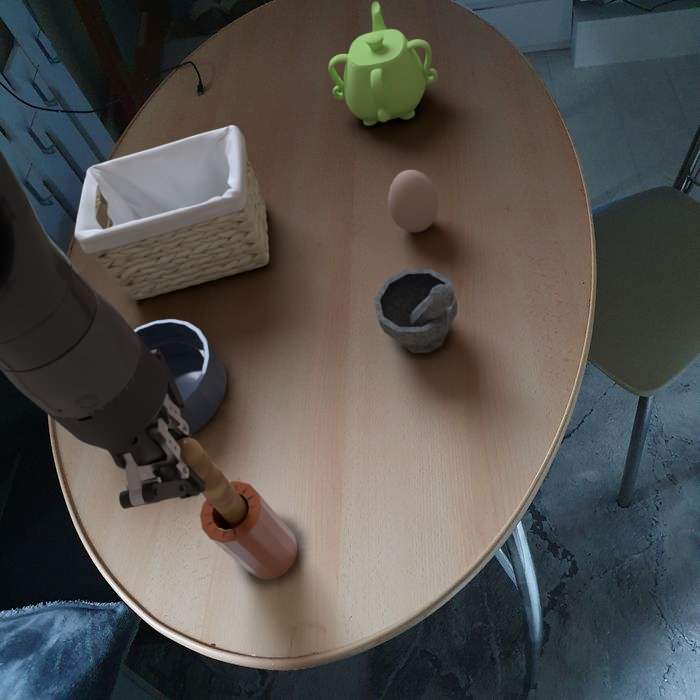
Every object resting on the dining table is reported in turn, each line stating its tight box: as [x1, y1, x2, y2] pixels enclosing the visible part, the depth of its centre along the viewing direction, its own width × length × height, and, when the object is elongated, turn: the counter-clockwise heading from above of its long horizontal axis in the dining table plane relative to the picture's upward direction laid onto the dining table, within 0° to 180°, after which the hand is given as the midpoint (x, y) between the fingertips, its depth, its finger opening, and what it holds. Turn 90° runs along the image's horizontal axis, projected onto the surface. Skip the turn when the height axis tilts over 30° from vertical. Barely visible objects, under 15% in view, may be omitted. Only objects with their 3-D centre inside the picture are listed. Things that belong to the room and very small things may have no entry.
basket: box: [74, 124, 270, 301], centre depth 98 cm, size 24×16×15 cm
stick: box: [176, 437, 249, 529], centre depth 62 cm, size 2×2×22 cm
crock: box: [199, 480, 298, 580], centre depth 69 cm, size 6×6×12 cm
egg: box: [387, 169, 439, 233], centre depth 92 cm, size 7×7×10 cm
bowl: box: [133, 318, 228, 435], centre depth 86 cm, size 15×15×6 cm
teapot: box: [328, 0, 439, 127], centre depth 109 cm, size 16×14×13 cm
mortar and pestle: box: [373, 268, 458, 354], centre depth 80 cm, size 11×9×12 cm
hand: (193, 474), depth 57 cm, fingers closed on stick, 2 cm apart
